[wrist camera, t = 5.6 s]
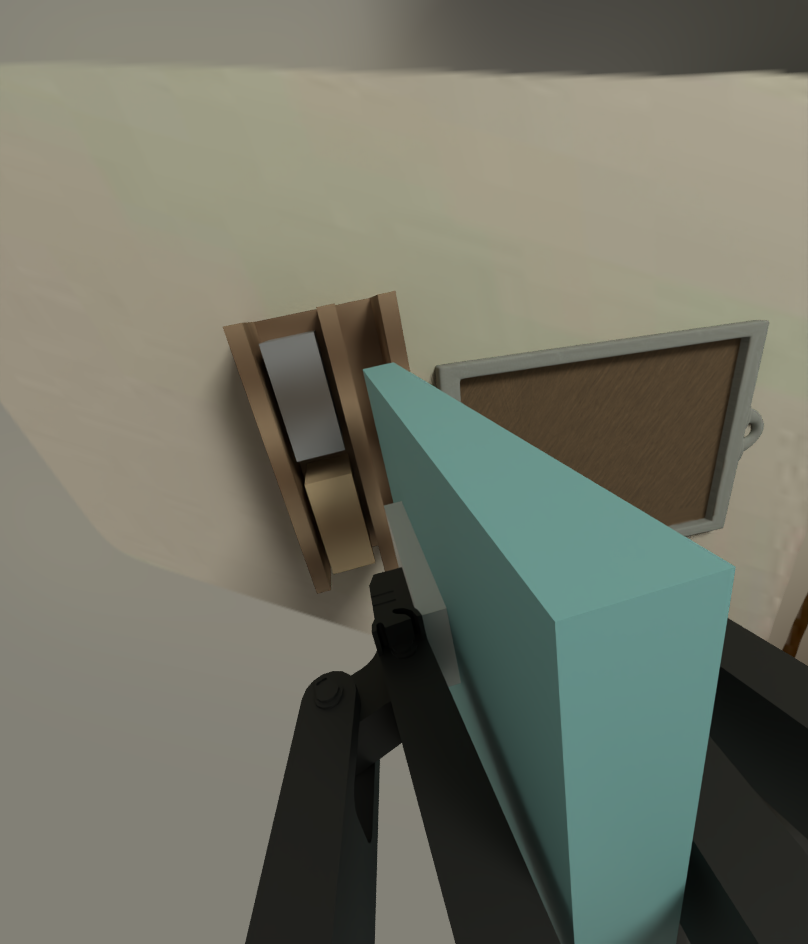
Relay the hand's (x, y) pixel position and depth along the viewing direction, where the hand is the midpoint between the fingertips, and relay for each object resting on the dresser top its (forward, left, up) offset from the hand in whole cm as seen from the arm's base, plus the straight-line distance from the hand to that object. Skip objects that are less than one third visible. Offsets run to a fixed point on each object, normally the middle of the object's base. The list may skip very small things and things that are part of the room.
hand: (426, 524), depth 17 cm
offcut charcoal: (+5, +4, -13) cm, 15 cm away
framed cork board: (-7, -19, -15) cm, 25 cm away
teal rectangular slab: (0, 0, -6) cm, 6 cm away
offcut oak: (-4, +4, -13) cm, 15 cm away
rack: (0, +3, -14) cm, 15 cm away
